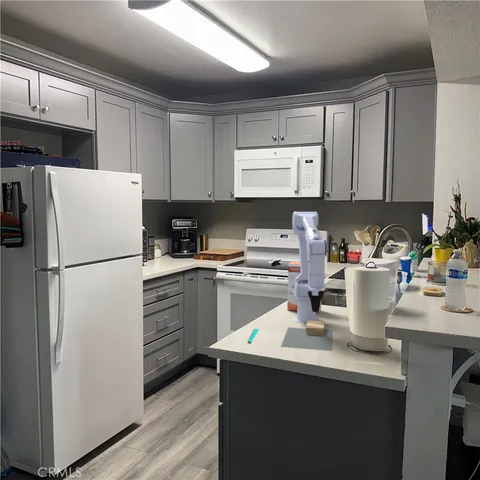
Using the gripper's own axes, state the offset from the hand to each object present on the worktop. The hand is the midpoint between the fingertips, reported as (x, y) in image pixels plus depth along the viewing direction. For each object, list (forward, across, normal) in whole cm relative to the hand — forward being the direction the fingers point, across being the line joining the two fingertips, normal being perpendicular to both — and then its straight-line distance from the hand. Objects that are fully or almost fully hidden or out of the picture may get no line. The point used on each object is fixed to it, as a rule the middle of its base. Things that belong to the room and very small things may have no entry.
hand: (315, 311), depth 147 cm
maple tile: (+6, +3, 0) cm, 7 cm away
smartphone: (+9, +8, -18) cm, 22 cm away
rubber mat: (+8, +7, -2) cm, 11 cm away
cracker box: (+8, -33, -6) cm, 35 cm away
